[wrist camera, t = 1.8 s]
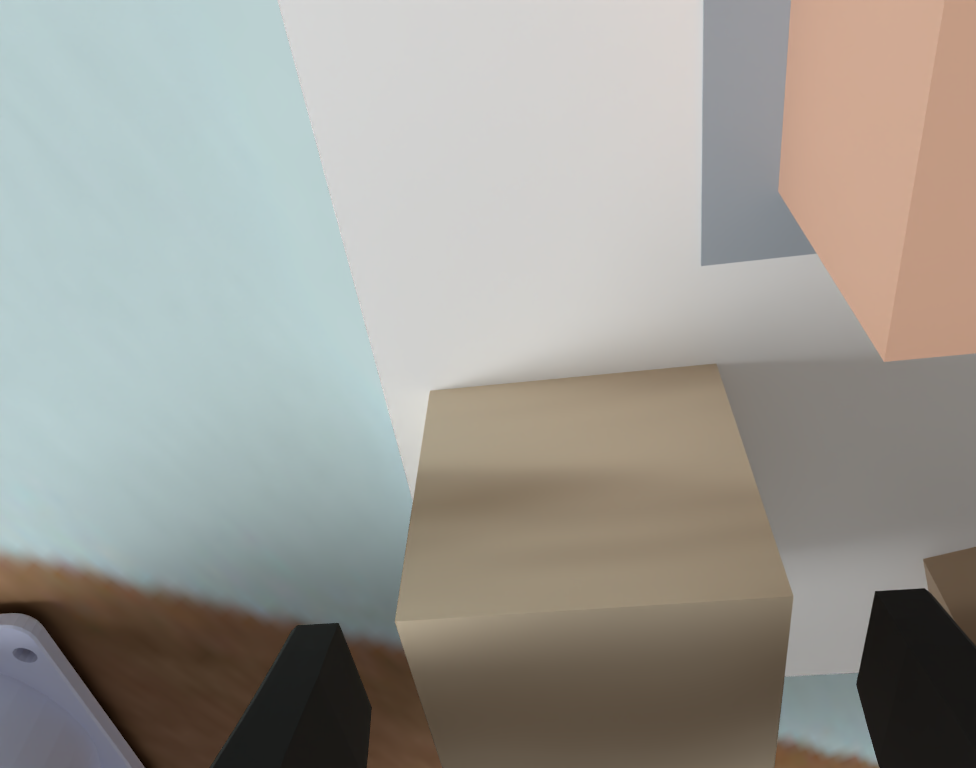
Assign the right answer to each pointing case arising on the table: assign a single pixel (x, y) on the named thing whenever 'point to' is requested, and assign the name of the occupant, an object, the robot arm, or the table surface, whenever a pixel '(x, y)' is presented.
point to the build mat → (631, 259)
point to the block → (955, 586)
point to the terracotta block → (887, 163)
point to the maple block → (593, 577)
